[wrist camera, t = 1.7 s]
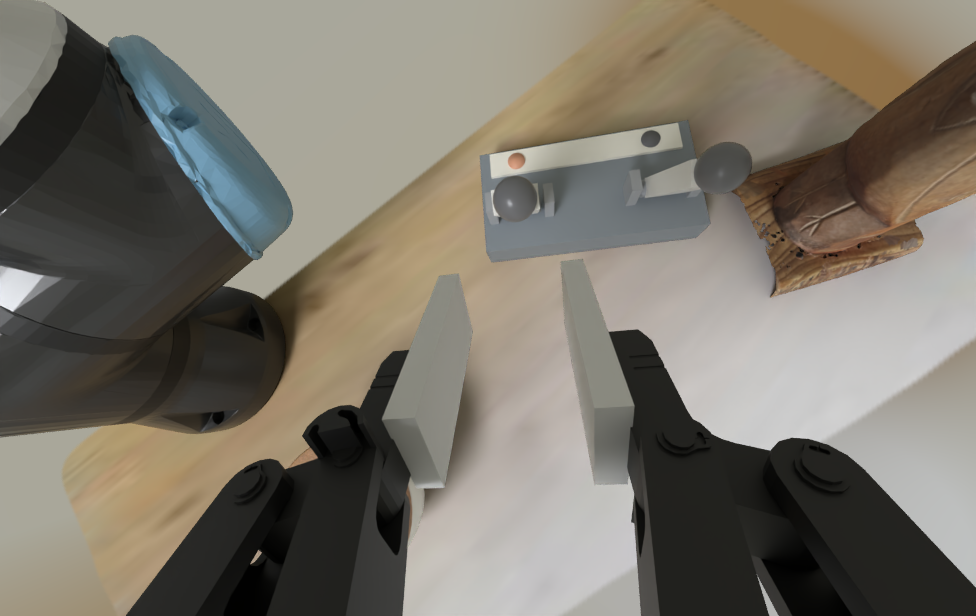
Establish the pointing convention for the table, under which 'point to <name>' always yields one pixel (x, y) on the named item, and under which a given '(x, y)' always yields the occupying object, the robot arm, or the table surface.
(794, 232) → the bird sculpture
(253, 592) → the robot arm
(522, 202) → the marked lever
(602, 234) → the switch unit
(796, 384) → the table surface
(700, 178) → the lever
